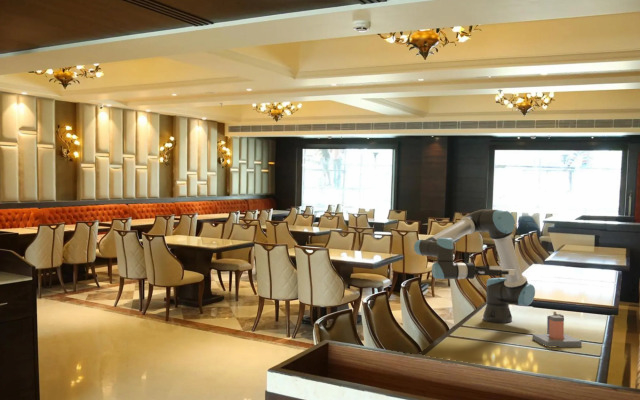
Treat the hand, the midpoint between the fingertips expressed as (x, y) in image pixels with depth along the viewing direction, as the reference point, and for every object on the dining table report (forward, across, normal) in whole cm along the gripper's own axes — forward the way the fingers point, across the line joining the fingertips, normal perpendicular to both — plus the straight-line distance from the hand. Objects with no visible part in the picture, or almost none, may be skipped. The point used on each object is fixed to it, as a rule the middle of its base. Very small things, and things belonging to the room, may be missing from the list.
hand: (508, 270), depth 266 cm
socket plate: (+18, +12, -32) cm, 38 cm away
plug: (+18, +12, -32) cm, 38 cm away
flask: (+27, -6, -32) cm, 42 cm away
